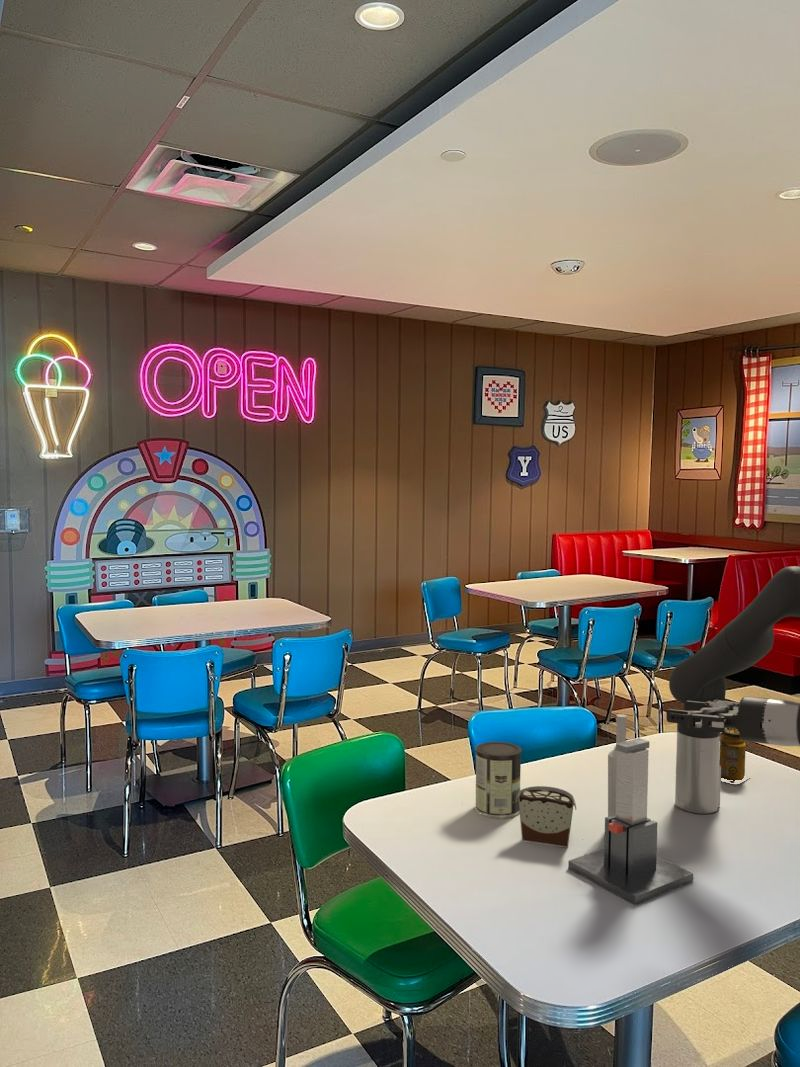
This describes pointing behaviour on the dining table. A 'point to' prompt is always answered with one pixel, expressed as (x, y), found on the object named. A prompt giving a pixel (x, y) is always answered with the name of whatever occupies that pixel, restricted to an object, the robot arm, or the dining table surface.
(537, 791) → the food container
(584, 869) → the stand
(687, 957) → the dining table surface
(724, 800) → the dining table surface
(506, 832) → the dining table surface
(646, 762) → the post
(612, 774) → the bottle
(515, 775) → the coffee can
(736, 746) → the condiment
